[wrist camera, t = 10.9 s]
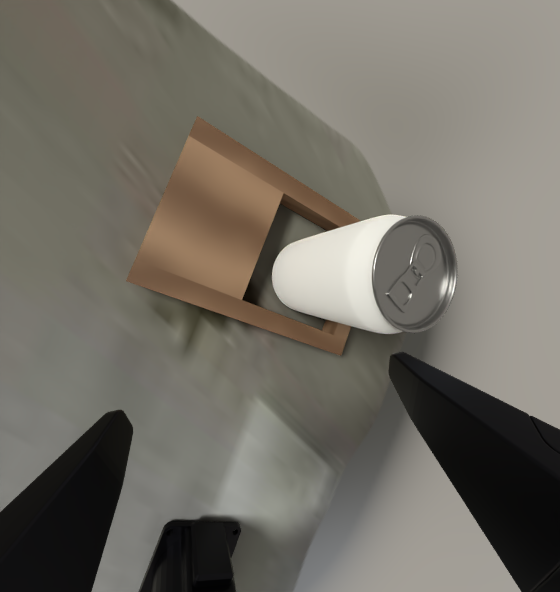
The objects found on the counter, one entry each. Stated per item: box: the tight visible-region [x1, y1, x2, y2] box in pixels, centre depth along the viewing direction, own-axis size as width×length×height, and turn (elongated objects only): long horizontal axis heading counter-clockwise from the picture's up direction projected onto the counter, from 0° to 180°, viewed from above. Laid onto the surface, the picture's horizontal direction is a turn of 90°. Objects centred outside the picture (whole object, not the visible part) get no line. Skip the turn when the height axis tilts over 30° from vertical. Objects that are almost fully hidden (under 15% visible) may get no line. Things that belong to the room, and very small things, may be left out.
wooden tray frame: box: [126, 116, 360, 356], centre depth 21 cm, size 12×18×2 cm, turn 68°
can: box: [272, 215, 457, 334], centre depth 18 cm, size 6×6×12 cm
